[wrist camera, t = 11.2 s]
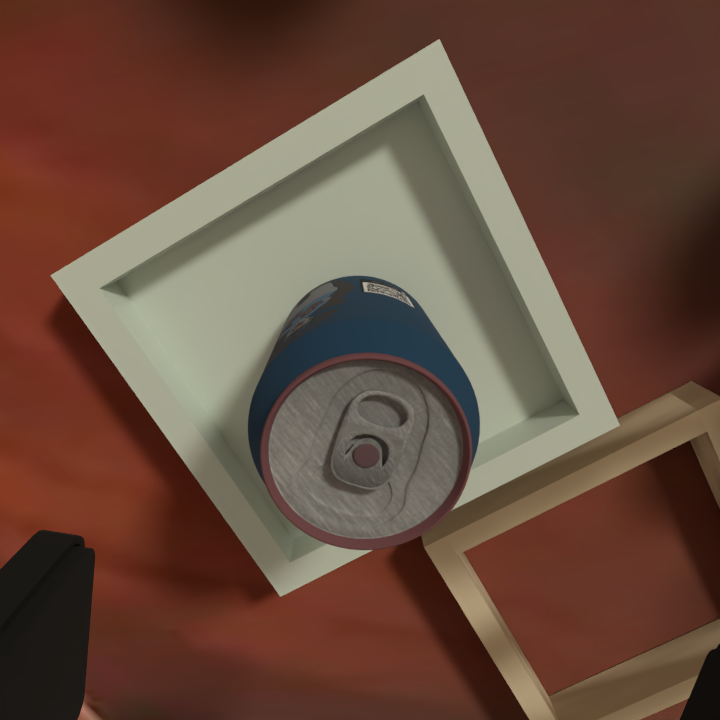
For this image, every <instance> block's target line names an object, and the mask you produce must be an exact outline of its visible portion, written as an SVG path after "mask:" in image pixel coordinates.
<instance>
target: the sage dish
mask: <svg viewBox="0 0 720 720" xmlns="http://www.w3.org/2000/svg"><path fill="white" fill-rule="evenodd" d="M346 276H370V277H375V278H379V279H383V280H386V281H388V282H391V283H393V284H395V285H397V286H398V287H400V288H402V289H403V290H404V291H406V292H407V293H408V294H410V295H411V296H412V297H413V298H414V299H415V300H416V301H417V302H418V304H419V305H420V306H421V307H422V309H423V310H424V312H425V313H426V315H427V316H428V318H429V319H430V321H431V322H432V323H433V325H434V326H435V328H436V329H437V331H438V332H439V334H440V335H441V337H442V338H443V340H444V341H445V343H446V344H447V346H448V347H449V349H450V350H451V352H452V353H453V355H454V356H455V358H456V359H457V361H458V362H459V364H460V365H461V367H462V368H463V370H464V371H465V373H466V375H467V376H468V378H469V380H470V382H471V385H472V387H473V389H474V392H475V395H476V399H477V403H478V408H479V415H480V435H479V443H478V447H477V452H476V455H475V458H474V461H473V464H472V466H471V469H470V473H469V477H468V480H467V483H466V486H465V488H464V490H463V492H462V495H461V496H460V498H459V500H458V502H457V503H456V505H455V506H454V508H453V509H455V508H457V507H459V506H461V505H463V504H465V503H467V502H469V501H471V500H473V499H475V498H477V497H479V496H481V495H483V494H485V493H487V492H489V491H491V490H493V489H495V488H497V487H499V486H501V485H503V484H505V483H507V482H509V481H511V480H513V479H515V478H517V477H519V476H521V475H523V474H525V473H527V472H529V471H531V470H533V469H535V468H537V467H539V466H541V465H543V464H545V463H547V462H549V461H551V460H553V459H555V458H557V457H559V456H561V455H563V454H565V453H567V452H568V451H570V450H572V449H574V448H576V447H578V446H580V445H582V444H584V443H586V442H588V441H590V440H592V439H594V438H596V437H598V436H600V435H602V434H604V433H606V432H608V431H610V430H612V429H614V428H616V427H618V426H620V424H619V422H618V420H617V418H616V416H615V414H614V411H613V409H612V407H611V405H610V403H609V401H608V399H607V397H606V394H605V392H604V390H603V388H602V386H601V384H600V382H599V379H598V377H597V375H596V373H595V371H594V369H593V367H592V364H591V362H590V360H589V358H588V356H587V354H586V352H585V349H584V347H583V345H582V343H581V341H580V339H579V337H578V334H577V332H576V330H575V328H574V326H573V324H572V322H571V320H570V317H569V315H568V313H567V311H566V309H565V307H564V305H563V302H562V300H561V298H560V296H559V294H558V292H557V290H556V287H555V285H554V283H553V281H552V279H551V277H550V275H549V272H548V270H547V268H546V266H545V264H544V262H543V260H542V258H541V255H540V253H539V251H538V249H537V247H536V245H535V243H534V240H533V238H532V236H531V234H530V232H529V230H528V228H527V225H526V223H525V221H524V219H523V217H522V215H521V213H520V210H519V208H518V206H517V204H516V202H515V200H514V198H513V196H512V193H511V191H510V189H509V187H508V185H507V183H506V181H505V178H504V176H503V174H502V172H501V170H500V168H499V166H498V163H497V161H496V159H495V157H494V155H493V153H492V151H491V148H490V146H489V144H488V142H487V140H486V138H485V136H484V134H483V131H482V129H481V127H480V125H479V123H478V121H477V119H476V116H475V114H474V112H473V110H472V108H471V106H470V104H469V101H468V99H467V97H466V95H465V93H464V91H463V89H462V86H461V84H460V82H459V80H458V78H457V76H456V74H455V72H454V69H453V67H452V65H451V63H450V61H449V59H448V57H447V54H446V52H445V50H444V48H443V46H442V44H441V42H440V39H439V40H437V41H436V42H434V43H432V44H431V45H429V46H427V47H426V48H424V49H422V50H421V51H419V52H417V53H416V54H414V55H412V56H411V57H409V58H408V59H406V60H404V61H403V62H401V63H399V64H398V65H396V66H394V67H393V68H391V69H389V70H388V71H386V72H385V73H383V74H381V75H380V76H378V77H376V78H375V79H373V80H371V81H370V82H368V83H366V84H365V85H363V86H362V87H360V88H358V89H357V90H355V91H353V92H352V93H350V94H348V95H347V96H345V97H343V98H342V99H340V100H338V101H337V102H335V103H334V104H332V105H330V106H329V107H327V108H325V109H324V110H322V111H320V112H319V113H317V114H315V115H314V116H312V117H311V118H309V119H307V120H306V121H304V122H302V123H301V124H299V125H297V126H296V127H294V128H292V129H291V130H289V131H288V132H286V133H284V134H283V135H281V136H279V137H278V138H276V139H274V140H273V141H271V142H269V143H268V144H266V145H264V146H263V147H261V148H260V149H258V150H256V151H255V152H253V153H251V154H250V155H248V156H246V157H245V158H243V159H241V160H240V161H238V162H237V163H235V164H233V165H232V166H230V167H228V168H227V169H225V170H223V171H222V172H220V173H218V174H217V175H215V176H213V177H212V178H210V179H209V180H207V181H205V182H204V183H202V184H200V185H199V186H197V187H195V188H194V189H192V190H190V191H189V192H187V193H186V194H184V195H182V196H181V197H179V198H177V199H176V200H174V201H172V202H171V203H169V204H167V205H166V206H164V207H163V208H161V209H159V210H158V211H156V212H154V213H153V214H151V215H149V216H148V217H146V218H144V219H143V220H141V221H139V222H138V223H136V224H135V225H133V226H131V227H130V228H128V229H126V230H125V231H123V232H121V233H120V234H118V235H116V236H115V237H113V238H112V239H110V240H108V241H107V242H105V243H103V244H102V245H100V246H98V247H97V248H95V249H93V250H92V251H90V252H88V253H87V254H85V255H84V256H82V257H80V258H79V259H77V260H75V261H74V262H72V263H70V264H69V265H67V266H65V267H64V268H62V269H61V270H59V271H57V272H56V273H54V274H52V275H51V277H52V278H53V280H54V281H55V282H56V284H57V285H58V287H59V288H60V289H61V291H62V292H63V294H64V295H65V296H66V298H67V299H68V301H69V302H70V303H71V305H72V306H73V307H74V309H75V310H76V312H77V313H78V314H79V316H80V317H81V319H82V320H83V321H84V323H85V324H86V326H87V327H88V328H89V330H90V331H91V333H92V334H93V335H94V337H95V338H96V340H97V341H98V342H99V344H100V345H101V347H102V348H103V349H104V351H105V352H106V354H107V355H108V356H109V358H110V359H111V361H112V362H113V363H114V365H115V366H116V368H117V369H118V370H119V372H120V373H121V375H122V376H123V377H124V379H125V380H126V382H127V383H128V384H129V386H130V387H131V389H132V390H133V391H134V393H135V394H136V396H137V397H138V398H139V400H140V401H141V403H142V404H143V405H144V407H145V408H146V410H147V411H148V412H149V414H150V415H151V417H152V418H153V419H154V421H155V422H156V424H157V425H158V426H159V428H160V429H161V431H162V432H163V433H164V435H165V436H166V438H167V439H168V440H169V442H170V443H171V445H172V446H173V447H174V449H175V450H176V452H177V453H178V454H179V456H180V457H181V459H182V460H183V461H184V463H185V464H186V466H187V467H188V468H189V470H190V471H191V473H192V474H193V475H194V477H195V478H196V480H197V481H198V482H199V484H200V485H201V487H202V488H203V489H204V491H205V492H206V494H207V495H208V496H209V498H210V499H211V501H212V502H213V503H214V505H215V506H216V507H217V509H218V510H219V512H220V513H221V514H222V516H223V517H224V519H225V520H226V521H227V523H228V524H229V526H230V527H231V528H232V530H233V531H234V533H235V534H236V535H237V537H238V538H239V540H240V541H241V542H242V544H243V545H244V547H245V548H246V549H247V551H248V552H249V554H250V555H251V556H252V558H253V559H254V561H255V562H256V563H257V565H258V566H259V568H260V569H261V570H262V572H263V573H264V575H265V576H266V577H267V579H268V580H269V582H270V583H271V584H272V586H273V587H274V589H275V590H276V591H277V593H278V594H279V596H280V597H281V596H283V595H285V594H287V593H289V592H291V591H293V590H295V589H297V588H299V587H301V586H303V585H305V584H307V583H309V582H311V581H313V580H315V579H317V578H319V577H320V576H322V575H324V574H326V573H328V572H330V571H332V570H334V569H336V568H338V567H340V566H342V565H344V564H346V563H348V562H350V561H352V560H354V559H356V558H358V557H360V556H362V555H364V554H366V553H368V552H370V551H372V550H352V549H345V548H340V547H336V546H332V545H329V544H326V543H324V542H321V541H319V540H317V539H315V538H312V537H311V536H309V535H307V534H306V533H304V532H303V531H301V530H300V529H298V528H297V527H296V526H295V525H293V524H292V523H291V522H290V521H289V520H288V519H287V518H286V517H285V516H284V515H283V514H282V513H281V511H280V510H279V509H278V507H277V506H276V505H275V503H274V501H273V500H272V498H271V496H270V494H269V492H268V490H267V488H266V485H265V484H264V482H263V480H262V479H261V477H260V475H259V473H258V471H257V469H256V466H255V464H254V461H253V458H252V455H251V451H250V446H249V440H248V416H249V409H250V404H251V401H252V397H253V394H254V392H255V389H256V387H257V384H258V382H259V380H260V378H261V375H262V373H263V371H264V369H265V367H266V364H267V362H268V360H269V358H270V355H271V353H272V351H273V349H274V347H275V344H276V342H277V340H278V338H279V335H280V333H281V331H282V329H283V327H284V324H285V322H286V320H287V318H288V316H289V314H290V313H291V311H292V310H293V308H294V307H295V306H296V304H297V303H298V302H299V301H300V300H301V299H302V298H303V297H304V296H305V295H306V294H307V293H309V292H310V291H311V290H313V289H314V288H316V287H317V286H319V285H321V284H323V283H325V282H328V281H330V280H333V279H337V278H341V277H346ZM453 509H452V510H453Z"/></svg>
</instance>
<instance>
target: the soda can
mask: <svg viewBox="0 0 720 720" xmlns="http://www.w3.org/2000/svg"><path fill="white" fill-rule="evenodd" d="M479 435H480V415H479V408H478V403H477V399H476V395H475V392H474V389H473V387H472V385H471V382H470V380H469V378H468V376H467V375H466V373H465V371H464V370H463V368H462V367H461V365H460V364H459V362H458V361H457V359H456V358H455V356H454V355H453V353H452V352H451V350H450V349H449V347H448V346H447V344H446V343H445V341H444V340H443V338H442V337H441V335H440V334H439V332H438V331H437V329H436V328H435V326H434V325H433V323H432V322H431V321H430V319H429V318H428V316H427V315H426V313H425V312H424V310H423V309H422V307H421V306H420V305H419V304H418V302H417V301H416V300H415V299H414V298H413V297H412V296H411V295H410V294H408V293H407V292H406V291H404V290H403V289H402V288H400V287H398V286H397V285H395V284H393V283H391V282H388V281H386V280H383V279H379V278H375V277H370V276H346V277H341V278H337V279H333V280H330V281H328V282H325V283H323V284H321V285H319V286H317V287H316V288H314V289H313V290H311V291H310V292H309V293H307V294H306V295H305V296H304V297H303V298H302V299H301V300H300V301H299V302H298V303H297V304H296V306H295V307H294V308H293V310H292V311H291V313H290V314H289V316H288V318H287V320H286V322H285V324H284V327H283V329H282V331H281V333H280V335H279V338H278V340H277V342H276V344H275V347H274V349H273V351H272V353H271V355H270V358H269V360H268V362H267V364H266V367H265V369H264V371H263V373H262V375H261V378H260V380H259V382H258V384H257V387H256V389H255V392H254V394H253V397H252V401H251V404H250V409H249V416H248V440H249V446H250V451H251V455H252V458H253V461H254V464H255V466H256V469H257V471H258V473H259V475H260V477H261V479H262V480H263V482H264V484H265V485H266V488H267V490H268V492H269V494H270V496H271V498H272V500H273V501H274V503H275V505H276V506H277V507H278V509H279V510H280V511H281V513H282V514H283V515H284V516H285V517H286V518H287V519H288V520H289V521H290V522H291V523H292V524H293V525H295V526H296V527H297V528H298V529H300V530H301V531H303V532H304V533H306V534H307V535H309V536H311V537H312V538H315V539H317V540H319V541H321V542H324V543H326V544H329V545H332V546H336V547H340V548H345V549H352V550H377V549H384V548H389V547H393V546H397V545H400V544H403V543H406V542H408V541H411V540H413V539H415V538H417V537H419V536H421V535H423V534H424V533H426V532H428V531H429V530H431V529H432V528H433V527H435V526H436V525H437V524H438V523H440V522H441V521H442V520H443V519H444V518H445V517H446V516H447V515H448V514H449V513H450V511H451V510H452V509H453V508H454V506H455V505H456V503H457V502H458V500H459V498H460V496H461V495H462V492H463V490H464V488H465V486H466V483H467V480H468V477H469V473H470V469H471V466H472V464H473V461H474V458H475V455H476V452H477V447H478V443H479Z"/></svg>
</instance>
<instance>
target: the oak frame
mask: <svg viewBox="0 0 720 720" xmlns="http://www.w3.org/2000/svg"><path fill="white" fill-rule="evenodd" d="M617 420H618V422H619V424H620V426H618V427H616V428H614V429H612V430H610V431H608V432H606V433H604V434H602V435H600V436H598V437H596V438H594V439H592V440H590V441H588V442H586V443H584V444H582V445H580V446H578V447H576V448H574V449H572V450H570V451H568V452H567V453H565V454H563V455H561V456H559V457H557V458H555V459H553V460H551V461H549V462H547V463H545V464H543V465H541V466H539V467H537V468H535V469H533V470H531V471H529V472H527V473H525V474H523V475H521V476H519V477H517V478H515V479H513V480H511V481H509V482H507V483H505V484H503V485H501V486H499V487H497V488H495V489H493V490H491V491H489V492H487V493H485V494H483V495H481V496H479V497H477V498H475V499H473V500H471V501H469V502H467V503H465V504H463V505H461V506H459V507H457V508H455V509H453V510H451V511H450V513H449V514H448V515H447V516H446V517H445V518H444V519H443V520H442V521H441V522H440V523H438V524H437V525H436V526H435V527H433V528H432V529H431V530H429V531H428V532H426V533H424V534H423V535H421V537H422V541H423V545H424V548H425V550H426V552H427V553H428V555H429V556H430V558H431V560H432V561H433V563H434V565H435V566H436V568H437V569H438V571H439V573H440V574H441V576H442V578H443V579H444V581H445V583H446V584H447V586H448V587H449V589H450V591H451V592H452V594H453V596H454V597H455V599H456V600H457V602H458V604H459V605H460V607H461V609H462V610H463V612H464V614H465V615H466V617H467V618H468V620H469V622H470V623H471V625H472V627H473V628H474V630H475V631H476V633H477V635H478V636H479V638H480V640H481V641H482V643H483V645H484V646H485V648H486V649H487V651H488V653H489V654H490V656H491V658H492V659H493V661H494V663H495V664H496V666H497V667H498V669H499V671H500V672H501V674H502V676H503V677H504V679H505V680H506V682H507V684H508V685H509V687H510V689H511V690H512V692H513V694H514V695H515V697H516V698H517V700H518V702H519V703H520V705H521V707H522V708H523V710H524V711H525V713H526V715H527V716H528V718H529V720H640V719H643V718H645V717H647V716H649V715H652V714H654V713H656V712H658V711H661V710H663V709H665V708H668V707H670V706H672V705H674V704H677V703H679V702H681V701H683V700H686V699H688V698H689V697H690V694H691V692H692V689H693V687H694V685H695V682H696V680H697V677H698V675H699V673H700V670H701V668H702V666H703V663H704V661H705V658H706V656H707V654H708V653H709V651H711V650H712V649H716V648H717V646H718V645H719V644H720V619H718V620H716V621H713V622H711V623H709V624H707V625H705V626H702V627H700V628H698V629H696V630H694V631H691V632H689V633H687V634H685V635H683V636H680V637H678V638H676V639H674V640H672V641H669V642H667V643H665V644H663V645H661V646H658V647H656V648H654V649H652V650H649V651H647V652H645V653H643V654H641V655H638V656H636V657H634V658H632V659H630V660H627V661H625V662H623V663H621V664H619V665H616V666H614V667H612V668H610V669H608V670H605V671H603V672H601V673H599V674H597V675H594V676H592V677H590V678H588V679H586V680H583V681H581V682H579V683H577V684H575V685H572V686H570V687H568V688H566V689H564V690H561V691H559V692H557V693H555V694H553V695H550V696H548V695H547V693H546V691H545V690H544V688H543V686H542V684H541V683H540V681H539V679H538V678H537V676H536V674H535V673H534V671H533V669H532V668H531V666H530V664H529V662H528V661H527V659H526V657H525V656H524V654H523V652H522V651H521V649H520V647H519V646H518V644H517V642H516V641H515V639H514V637H513V635H512V634H511V632H510V630H509V629H508V627H507V625H506V624H505V622H504V620H503V619H502V617H501V615H500V613H499V612H498V610H497V608H496V607H495V605H494V603H493V602H492V600H491V598H490V597H489V595H488V593H487V592H486V590H485V588H484V586H483V585H482V583H481V581H480V580H479V578H478V576H477V575H476V573H475V571H474V570H473V568H472V566H471V564H470V563H469V561H468V559H467V558H466V556H465V554H464V553H463V552H464V551H466V550H468V549H470V548H472V547H474V546H476V545H478V544H480V543H482V542H484V541H486V540H488V539H490V538H493V537H495V536H497V535H499V534H501V533H503V532H505V531H507V530H509V529H511V528H513V527H515V526H517V525H519V524H521V523H523V522H525V521H527V520H529V519H531V518H533V517H535V516H537V515H539V514H541V513H543V512H545V511H547V510H549V509H551V508H553V507H555V506H557V505H559V504H561V503H563V502H565V501H567V500H569V499H571V498H574V497H576V496H578V495H580V494H582V493H584V492H586V491H588V490H590V489H592V488H594V487H596V486H598V485H600V484H602V483H604V482H606V481H608V480H610V479H612V478H614V477H616V476H618V475H620V474H622V473H624V472H626V471H628V470H630V469H632V468H634V467H636V466H638V465H640V464H642V463H644V462H646V461H648V460H650V459H653V458H655V457H657V456H659V455H661V454H663V453H665V452H667V451H669V450H671V449H673V448H675V447H677V446H679V445H681V444H683V443H685V442H687V441H689V440H690V442H691V444H692V447H693V449H694V451H695V454H696V456H697V458H698V461H699V463H700V465H701V467H702V470H703V472H704V474H705V477H706V479H707V481H708V484H709V486H710V488H711V491H712V493H713V495H714V497H715V500H716V502H717V504H718V507H719V509H720V396H718V395H716V394H715V393H713V392H711V391H709V390H707V389H705V388H703V387H702V386H700V385H698V384H696V383H694V382H692V381H691V382H689V383H687V384H685V385H683V386H681V387H679V388H677V389H675V390H673V391H671V392H669V393H667V394H665V395H663V396H661V397H659V398H657V399H655V400H653V401H651V402H649V403H647V404H645V405H643V406H641V407H639V408H637V409H635V410H633V411H631V412H629V413H627V414H625V415H623V416H621V417H620V418H618V419H617Z"/></svg>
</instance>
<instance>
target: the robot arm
mask: <svg viewBox="0 0 720 720" xmlns="http://www.w3.org/2000/svg"><path fill="white" fill-rule="evenodd" d="M94 564H95V552H94V550H93V549H92V548H86V547H85V543H84V539H83V537H81V536H78V535H72V534H66V533H59V532H53V531H47V530H41V531H38V532H37V533H36V534H34V535H33V537H32V538H31V539H30V540H29V541H28V542H27V543H26V544H25V545H24V546H23V547H22V548H21V549H20V550H19V551H18V552H17V553H16V554H15V555H14V556H13V557H12V558H11V559H10V560H9V561H8V562H7V563H6V564H5V565H4V566H3V567H2V568H1V569H0V720H77V719H78V717H79V714H80V711H81V708H82V704H83V700H84V693H85V680H86V667H87V654H88V641H89V629H90V616H91V603H92V590H93V577H94ZM680 720H720V644H719V645H718V646H717V648H716V649H712V650H711V651H709V653H708V654H707V656H706V658H705V661H704V663H703V666H702V668H701V670H700V673H699V675H698V677H697V680H696V682H695V685H694V687H693V689H692V692H691V694H690V697H689V699H688V701H687V704H686V706H685V709H684V711H683V713H682V716H681V718H680Z"/></svg>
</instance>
